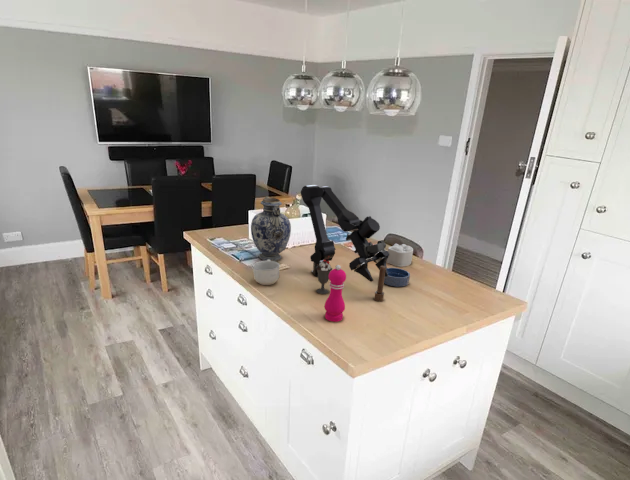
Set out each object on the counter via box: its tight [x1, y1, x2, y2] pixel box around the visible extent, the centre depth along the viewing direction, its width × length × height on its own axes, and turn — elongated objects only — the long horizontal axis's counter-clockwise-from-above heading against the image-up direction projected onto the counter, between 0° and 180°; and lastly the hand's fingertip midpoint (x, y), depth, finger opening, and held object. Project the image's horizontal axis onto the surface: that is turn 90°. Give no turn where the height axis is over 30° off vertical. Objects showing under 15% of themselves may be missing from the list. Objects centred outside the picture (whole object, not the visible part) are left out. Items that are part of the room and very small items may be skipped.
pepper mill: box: [324, 264, 347, 323], centre depth 144 cm, size 7×7×20 cm
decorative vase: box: [250, 195, 292, 262], centre depth 196 cm, size 21×19×28 cm
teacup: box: [252, 260, 280, 286], centre depth 173 cm, size 14×11×8 cm
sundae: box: [316, 256, 333, 295], centre depth 166 cm, size 7×7×15 cm
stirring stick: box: [373, 265, 387, 302], centre depth 163 cm, size 4×4×14 cm
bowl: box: [384, 267, 411, 288], centre depth 183 cm, size 12×12×4 cm
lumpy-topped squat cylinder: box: [386, 243, 414, 268], centre depth 207 cm, size 10×13×9 cm
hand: (379, 278), depth 163 cm, fingers open, 9 cm apart
